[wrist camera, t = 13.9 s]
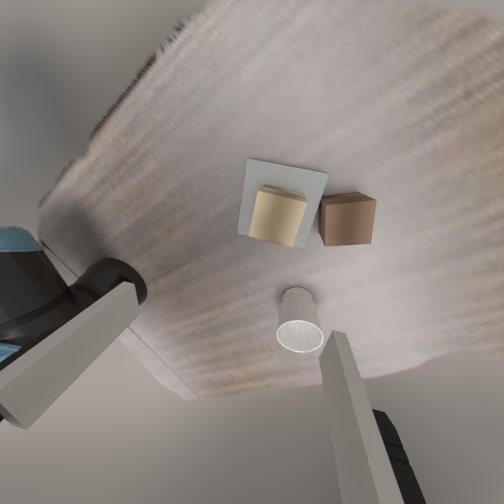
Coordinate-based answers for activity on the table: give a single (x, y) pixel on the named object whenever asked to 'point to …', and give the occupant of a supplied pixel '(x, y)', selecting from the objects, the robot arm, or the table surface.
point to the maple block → (277, 215)
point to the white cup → (299, 321)
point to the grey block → (286, 179)
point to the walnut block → (346, 219)
